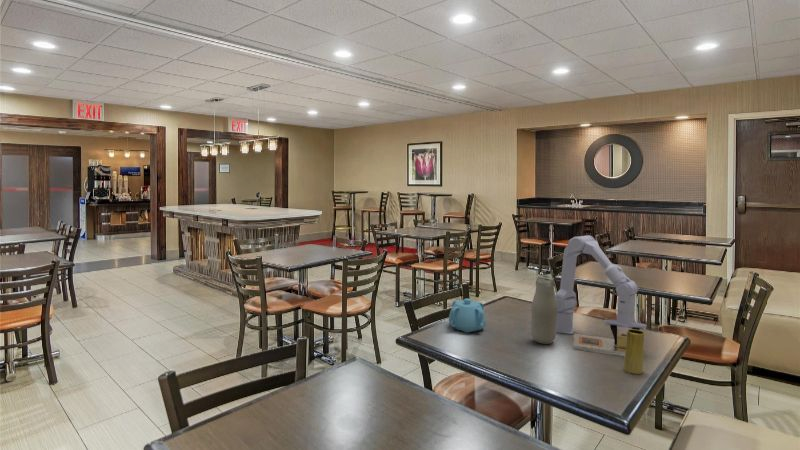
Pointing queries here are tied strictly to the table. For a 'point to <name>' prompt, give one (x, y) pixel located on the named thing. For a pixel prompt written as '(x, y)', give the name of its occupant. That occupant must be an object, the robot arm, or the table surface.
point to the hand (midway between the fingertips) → (623, 344)
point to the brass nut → (621, 340)
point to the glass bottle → (544, 311)
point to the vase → (634, 352)
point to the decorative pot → (467, 315)
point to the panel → (604, 345)
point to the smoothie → (622, 328)
